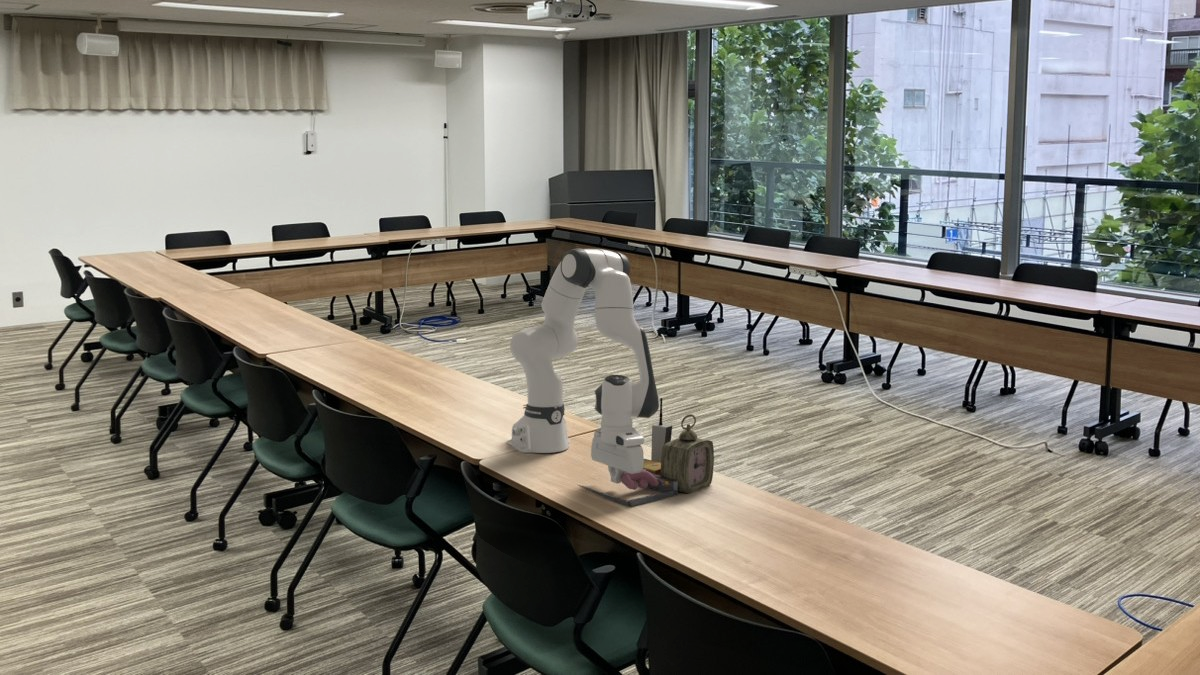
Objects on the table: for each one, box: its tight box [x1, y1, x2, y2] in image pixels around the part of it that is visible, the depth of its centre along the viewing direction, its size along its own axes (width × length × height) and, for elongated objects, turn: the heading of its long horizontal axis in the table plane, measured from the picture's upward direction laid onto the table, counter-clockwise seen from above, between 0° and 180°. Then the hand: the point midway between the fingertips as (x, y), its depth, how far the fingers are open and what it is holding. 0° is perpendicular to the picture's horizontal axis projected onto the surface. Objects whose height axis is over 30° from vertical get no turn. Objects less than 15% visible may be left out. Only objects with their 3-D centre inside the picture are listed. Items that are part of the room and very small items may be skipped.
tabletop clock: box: [661, 414, 715, 494], centre depth 291 cm, size 14×9×25 cm, turn 141°
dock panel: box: [581, 471, 679, 508], centre depth 288 cm, size 24×17×4 cm
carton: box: [642, 458, 661, 476], centre depth 300 cm, size 8×16×4 cm, turn 41°
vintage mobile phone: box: [650, 397, 673, 463], centre depth 309 cm, size 4×5×25 cm
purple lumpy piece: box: [620, 469, 659, 491], centre depth 286 cm, size 10×5×7 cm
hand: (615, 482), depth 287 cm, fingers closed
